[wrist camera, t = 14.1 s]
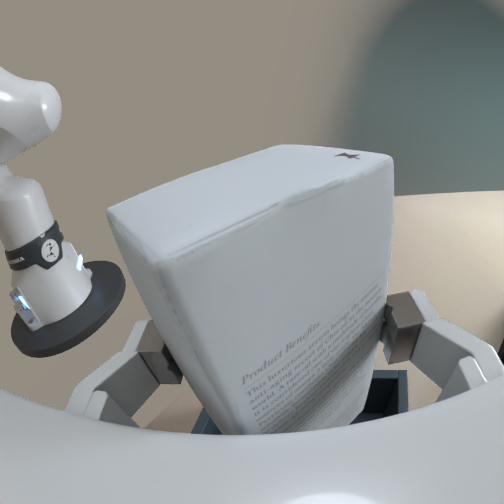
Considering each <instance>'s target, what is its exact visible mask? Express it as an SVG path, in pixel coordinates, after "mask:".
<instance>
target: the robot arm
mask: <svg viewBox="0 0 504 504" xmlns="http://www.w3.org/2000/svg"><path fill="white" fill-rule="evenodd" d="M61 112H62V105H61V99H60V96H59V95H58V92H57V91H56V89H55V88H54V87H53V86H51V85H50V84H48V83H47V82H44V81H31V80H26V79H22V78H20V77H17V76H15V75H13V74H11V73H9V72H8V71H6V70H5V69H3V67H2V66H0V239H1V241H2V243H3V245H4V247H5V254H6V259H7V262H8V263H9V265H10V268H11V269H12V283H11V285H12V287H13V289H14V290H13V291H12V292H10V296H11V298H12V299H13V301H14V302H15V303H16V304H15V306H14V308H15V310H16V312H17V313H18V315H19V316H20V317H21V319H22V320H23V321H24V323H25V324H26V325H27V326H28V328H29V329H30V330H31V331H36V330H38V329H39V328H41V327H43V326H44V325H47V324H50V323H54V322H56V321H59V320H61V319H63V318H65V317H66V316H68V315H69V314H71V313H72V312H73V311H75V310H76V309H77V308H78V307H79V306H80V305H81V304H82V303H83V302H84V301H85V300H86V298H87V297H88V295H89V294H90V292H91V289H92V283H91V280H90V279H91V276H92V272H91V270H90V269H85V268H84V266H83V264H82V256H81V255H80V256H79V257H78V255H77V253H76V252H75V250H74V248H73V246H72V244H71V243H68V242H65V241H64V240H63V238H64V237H63V235H62V232H61V229H60V227H59V225H58V223H57V221H55V220H54V219H53V216H52V214H51V211H50V208H49V206H48V203H47V200H46V197H45V195H44V192H43V189H42V187H41V185H40V184H39V183H38V182H37V181H36V180H34V179H32V178H28V177H16V176H14V175H13V174H12V173H11V172H10V171H9V169H8V167H7V164H6V162H7V161H8V160H10V159H12V158H14V157H16V156H17V155H19V154H21V153H23V152H25V151H27V150H29V149H31V148H32V147H34V146H36V145H37V144H38V143H40V142H41V141H42V140H44V139H45V138H47V137H48V136H49V135H51V134H52V133H53V132H55V131H56V129H57V127H58V124H59V122H60V118H61ZM379 340H380V341H381V342H382V343H384V349H383V351H384V354H385V357H386V360H387V362H388V365H389V364H394V363H399V362H403V361H408V360H410V361H411V362H412V363H413V364H414V365H415V366H416V367H418V368H419V369H420V370H421V371H422V372H423V373H424V374H426V375H427V376H428V377H429V378H430V379H431V380H433V381H434V382H435V383H436V384H437V385H438V386H439V387H441V388H442V389H443V391H442V392H441V394H440V396H439V397H438V399H437V400H436V402H435V403H434V404H431V405H428V406H424V407H421V408H418V409H415V410H411V411H408V412H404V413H401V414H397V415H393V416H389V417H385V418H381V419H376V420H372V421H367V422H362V423H357V424H352V425H346V426H340V427H334V428H327V429H320V430H312V431H303V432H292V433H280V434H261V435H209V434H191V433H178V432H168V431H159V430H151V429H144V428H140V427H139V426H138V425H137V424H136V423H135V422H134V421H133V420H132V419H131V417H132V416H133V415H134V414H135V412H136V411H137V410H138V409H139V408H140V407H141V406H142V405H143V404H144V402H145V401H146V400H147V399H148V398H149V397H150V396H151V395H152V393H153V392H154V391H155V390H156V389H157V388H158V387H159V386H160V384H181V381H182V377H183V373H182V372H181V370H180V368H179V367H178V365H177V363H176V362H175V360H174V358H173V357H172V355H171V353H170V351H169V349H168V348H167V346H166V344H165V342H164V341H163V339H162V337H161V335H160V333H159V331H158V330H157V328H156V326H155V324H154V322H153V320H139V321H137V322H136V324H135V326H134V328H133V330H132V332H131V334H130V337H129V339H128V341H127V343H126V345H125V347H124V350H123V352H118V353H117V354H116V355H114V356H113V357H112V358H110V359H109V360H108V361H107V362H105V363H104V364H103V365H102V366H100V367H99V368H98V369H96V370H95V371H94V372H93V373H91V374H90V375H89V376H88V377H86V378H85V379H84V380H82V381H81V382H80V383H79V384H77V385H76V387H75V389H74V391H73V393H72V395H71V398H70V400H69V402H68V404H67V407H66V409H65V411H61V410H59V409H55V408H52V407H49V406H45V405H43V404H40V403H37V402H34V401H32V400H29V399H26V398H24V397H21V396H18V395H16V394H13V393H11V392H9V391H6V390H4V389H2V388H0V504H504V366H503V364H502V362H501V360H500V359H499V357H498V355H497V353H496V352H495V350H494V348H493V346H491V345H489V344H488V343H486V342H484V341H482V340H481V339H479V338H477V337H475V336H474V335H472V334H470V333H468V332H467V331H465V330H463V329H461V328H460V327H458V326H456V325H454V324H453V323H451V322H449V321H447V320H445V319H444V318H442V319H439V317H438V316H437V314H436V312H435V311H434V309H433V307H432V306H431V304H430V303H429V301H428V299H427V298H426V296H425V295H424V293H423V292H422V290H420V289H416V290H411V291H407V292H402V293H397V294H392V295H387V299H386V305H385V311H384V318H383V324H382V328H381V334H380V339H379Z"/></svg>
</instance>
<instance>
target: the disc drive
mask: <svg viewBox="0 0 504 504" xmlns="http://www.w3.org/2000/svg"><path fill="white" fill-rule="evenodd" d="M498 357H499V359H500V360H501V362H502V364H503V366H504V339H503V342H502V345H501V348H500V350H499V353H498Z"/></svg>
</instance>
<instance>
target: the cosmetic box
mask: <svg viewBox="0 0 504 504" xmlns="http://www.w3.org/2000/svg"><path fill="white" fill-rule="evenodd" d="M106 214H107V218H108V222H109V225H110V227H111V230H112V232H113V235H114V237H115V240H116V242H117V245H118V247H119V250H120V252H121V254H122V257H123V259H124V262H125V264H126V266H127V268H128V271H129V273H130V275H131V277H132V279H133V281H134V284H135V286H136V288H137V290H138V292H139V294H140V296H141V298H142V300H143V302H144V304H145V306H146V308H147V310H148V312H149V314H150V316H151V318H152V320H153V322H154V324H155V326H156V328H157V330H158V331H159V333H160V335H161V337H162V339H163V341H164V342H165V344H166V346H167V348H168V349H169V351H170V353H171V355H172V357H173V358H174V360H175V362H176V363H177V365H178V367H179V368H180V370H181V372H182V373H183V375H184V377H185V378H186V380H187V381H188V383H189V385H190V386H191V388H192V390H193V391H194V393H195V394H196V396H197V397H198V399H199V401H200V402H201V404H202V405H203V407H204V408H205V410H206V411H207V413H208V414H209V416H210V417H211V419H212V420H213V422H214V423H215V424H216V426H217V427H218V429H219V430H220V432H221V433H222V434H223V435H261V434H280V433H292V432H303V431H312V430H320V429H327V428H334V427H340V426H346V425H349V424H350V423H351V422H352V421H353V420H354V419H355V418H356V417H357V415H358V414H359V413H360V412H361V411H362V410H363V409H364V405H365V402H366V398H367V395H368V391H369V387H370V383H371V379H372V374H373V370H374V366H375V361H376V356H377V351H378V346H379V341H380V340H379V339H380V334H381V328H382V324H383V318H384V311H385V305H386V299H387V291H388V282H389V273H390V263H391V252H392V240H393V224H394V168H393V159H392V158H391V157H390V156H387V155H384V154H379V153H373V152H365V151H357V150H348V149H338V148H330V147H319V146H309V145H277V146H274V147H271V148H267V149H264V150H261V151H258V152H255V153H252V154H249V155H246V156H243V157H240V158H237V159H234V160H231V161H228V162H225V163H222V164H219V165H216V166H213V167H209V168H206V169H203V170H200V171H197V172H194V173H192V174H189V175H186V176H183V177H181V178H178V179H175V180H173V181H170V182H168V183H165V184H163V185H161V186H158V187H155V188H153V189H151V190H148V191H146V192H143V193H141V194H139V195H136V196H134V197H132V198H129V199H127V200H125V201H123V202H120V203H118V204H116V205H114V206H112V207H110V208H108V209H107V211H106Z"/></svg>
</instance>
